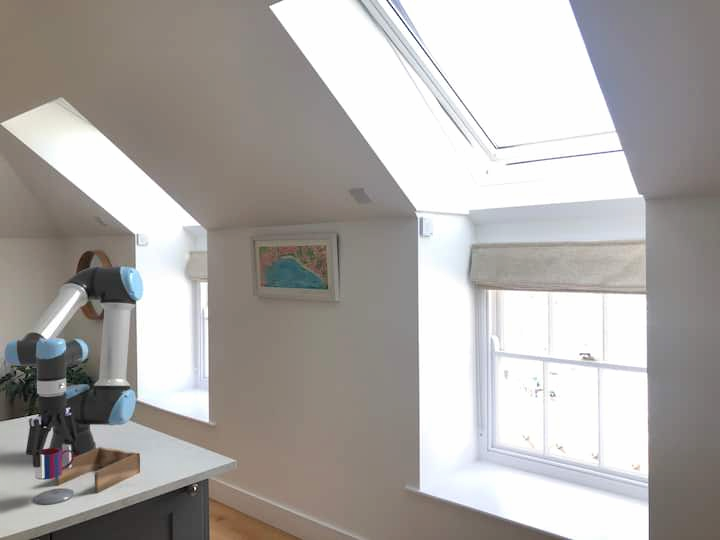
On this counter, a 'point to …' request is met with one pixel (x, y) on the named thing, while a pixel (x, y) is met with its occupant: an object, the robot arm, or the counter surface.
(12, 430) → the counter surface
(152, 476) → the counter surface
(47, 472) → the mug
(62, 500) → the slate coaster
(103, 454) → the walnut bay
